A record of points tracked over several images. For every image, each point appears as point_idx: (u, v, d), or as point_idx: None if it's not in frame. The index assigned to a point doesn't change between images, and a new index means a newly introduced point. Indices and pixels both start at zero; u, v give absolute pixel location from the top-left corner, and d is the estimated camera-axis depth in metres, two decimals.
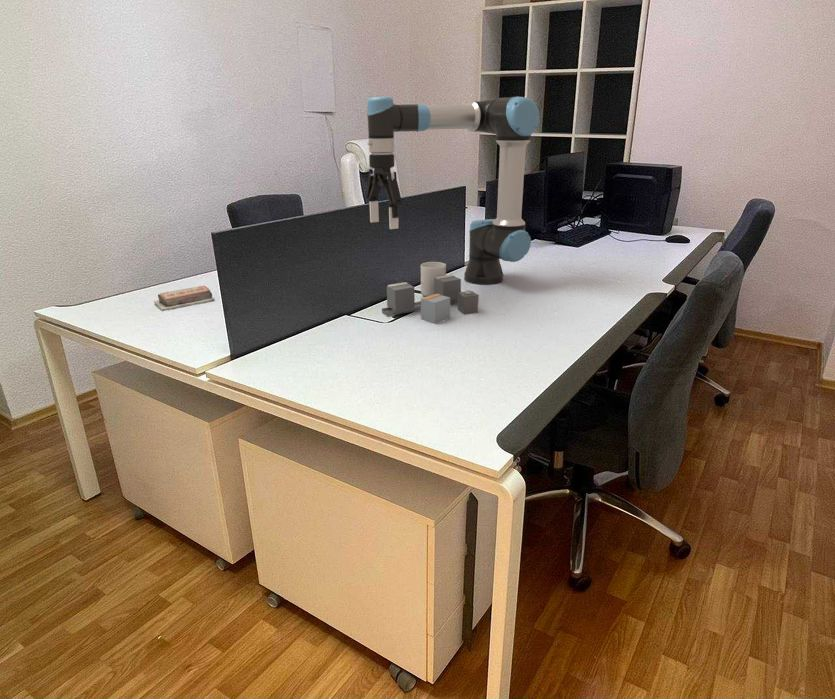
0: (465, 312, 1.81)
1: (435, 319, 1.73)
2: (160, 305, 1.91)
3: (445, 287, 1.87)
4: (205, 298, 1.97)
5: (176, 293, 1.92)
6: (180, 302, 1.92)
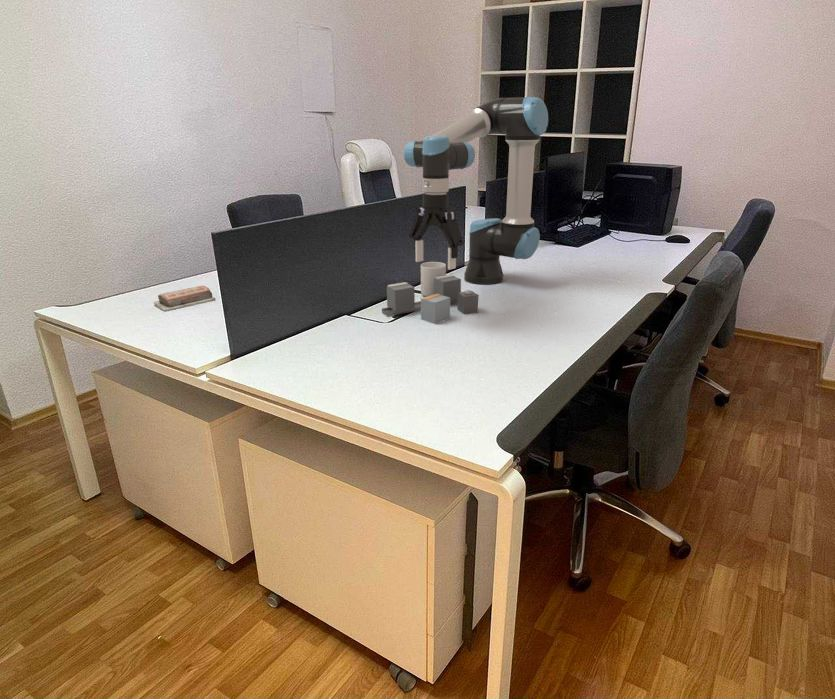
0: (465, 312, 1.81)
1: (435, 319, 1.73)
2: (161, 306, 1.90)
3: (445, 287, 1.87)
4: (206, 298, 1.97)
5: (177, 293, 1.92)
6: (182, 302, 1.92)
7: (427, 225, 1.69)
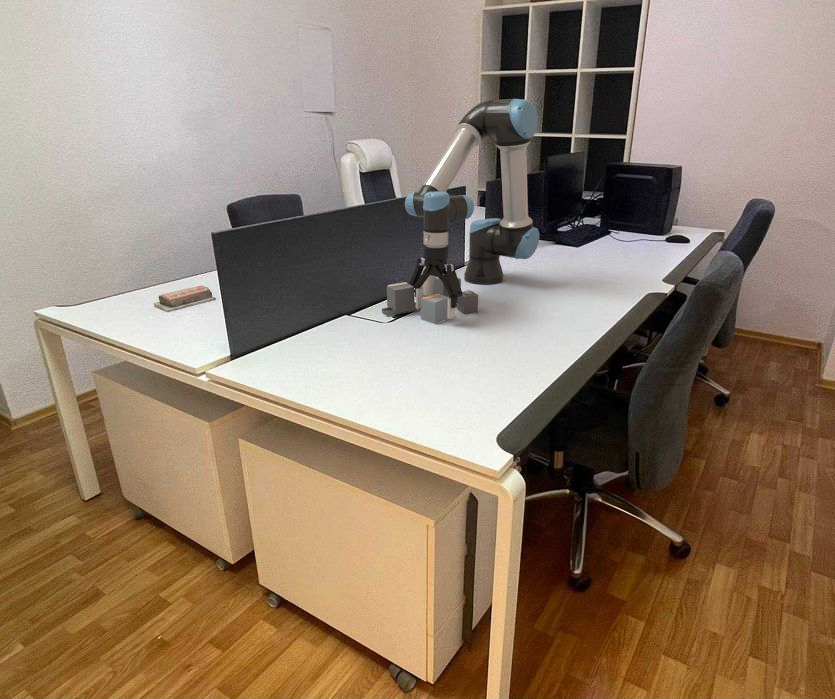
0: (465, 312, 1.81)
1: (435, 319, 1.73)
2: (163, 306, 1.89)
3: None
4: (206, 297, 1.98)
5: (178, 294, 1.92)
6: (183, 302, 1.91)
7: (427, 275, 1.74)
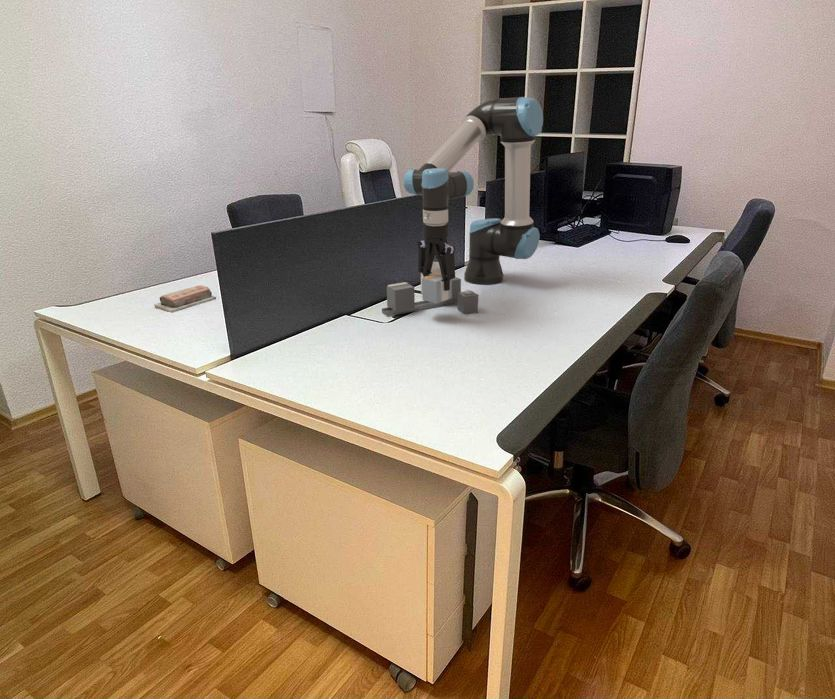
0: (465, 312, 1.81)
1: (437, 299, 1.71)
2: (165, 307, 1.89)
3: None
4: (206, 297, 1.98)
5: (179, 294, 1.92)
6: (186, 302, 1.91)
7: (431, 256, 1.71)
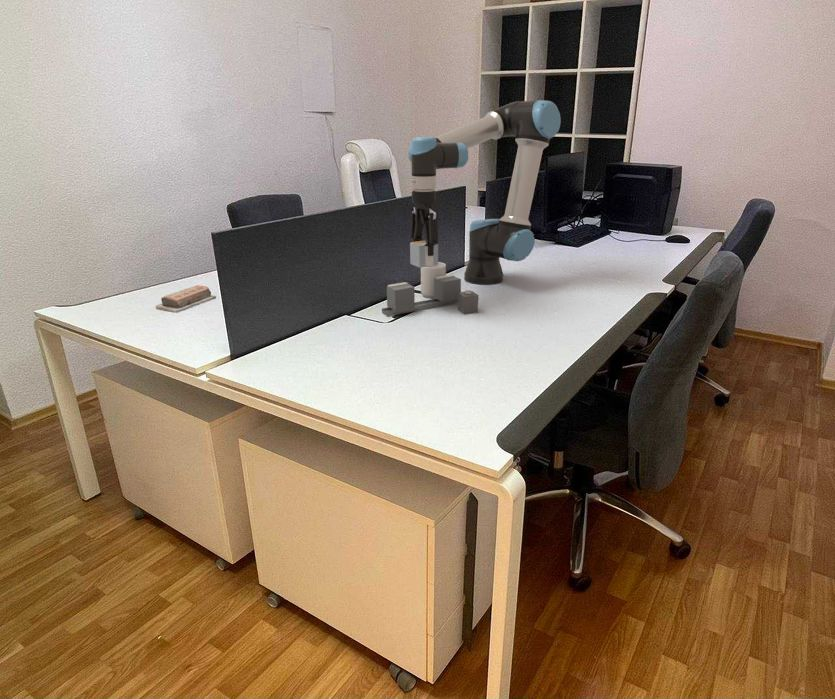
0: (465, 312, 1.81)
1: (420, 263, 1.79)
2: (168, 308, 1.88)
3: (445, 287, 1.87)
4: (206, 296, 1.99)
5: (181, 294, 1.91)
6: (188, 302, 1.91)
7: (420, 222, 1.79)
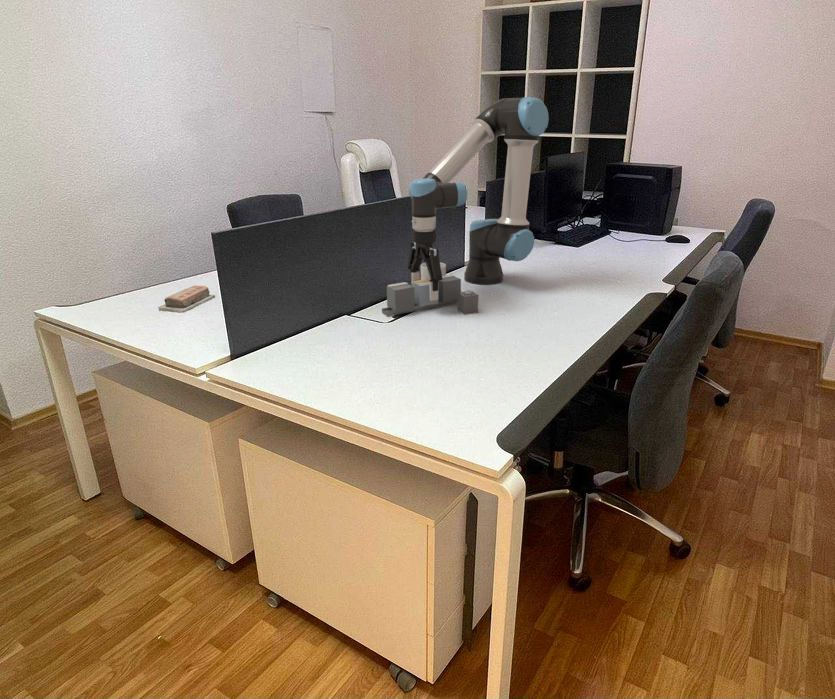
0: (465, 312, 1.81)
1: (421, 302, 1.84)
2: (173, 308, 1.87)
3: (445, 287, 1.87)
4: (206, 296, 1.99)
5: (184, 294, 1.91)
6: (192, 302, 1.92)
7: (419, 258, 1.85)
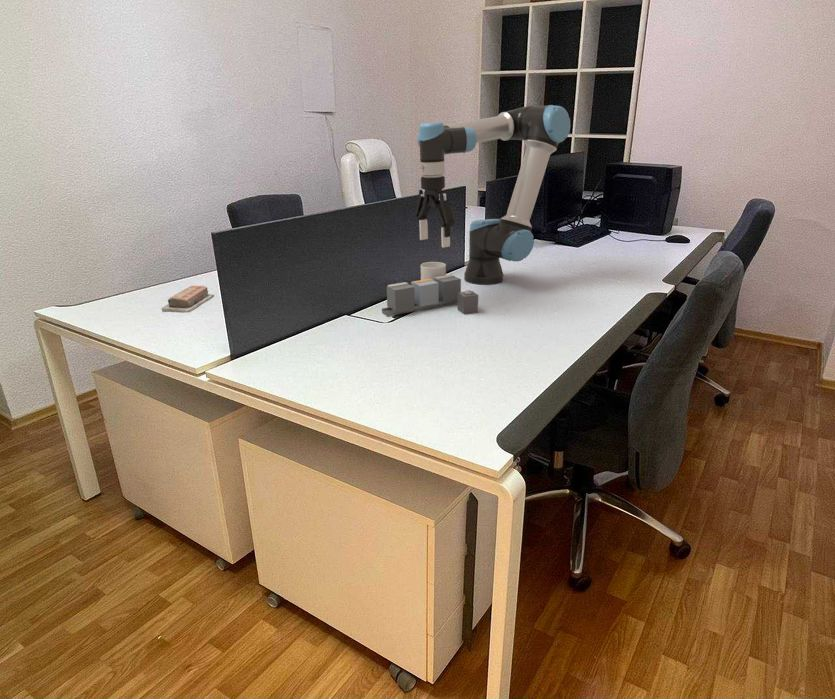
0: (465, 312, 1.81)
1: (421, 302, 1.84)
2: (178, 308, 1.87)
3: (445, 287, 1.87)
4: (206, 295, 2.00)
5: (186, 294, 1.91)
6: (195, 302, 1.92)
7: (428, 206, 1.82)
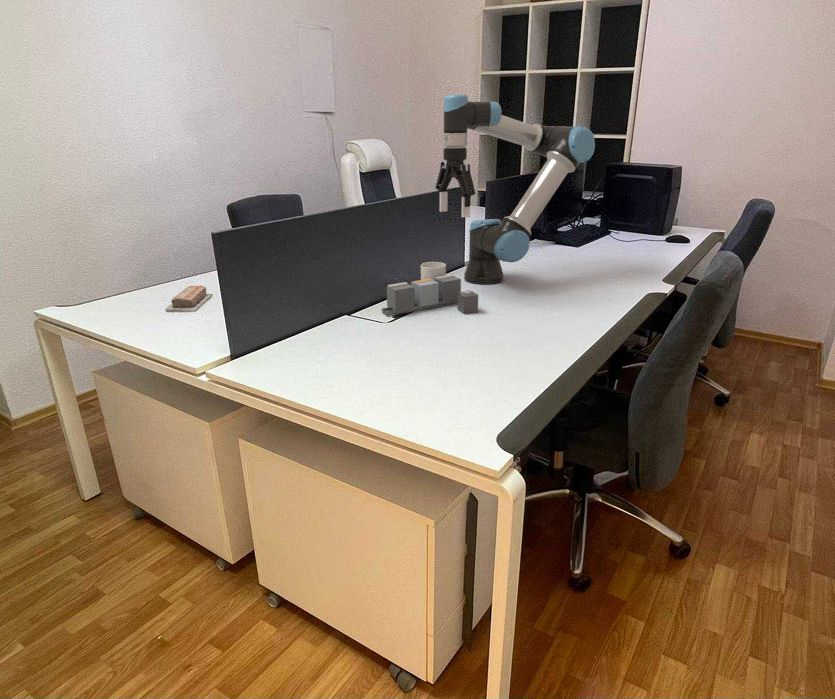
0: (465, 312, 1.81)
1: (421, 302, 1.84)
2: (182, 308, 1.87)
3: (445, 287, 1.87)
4: (205, 295, 2.00)
5: (188, 294, 1.91)
6: (197, 301, 1.92)
7: (449, 177, 1.87)
